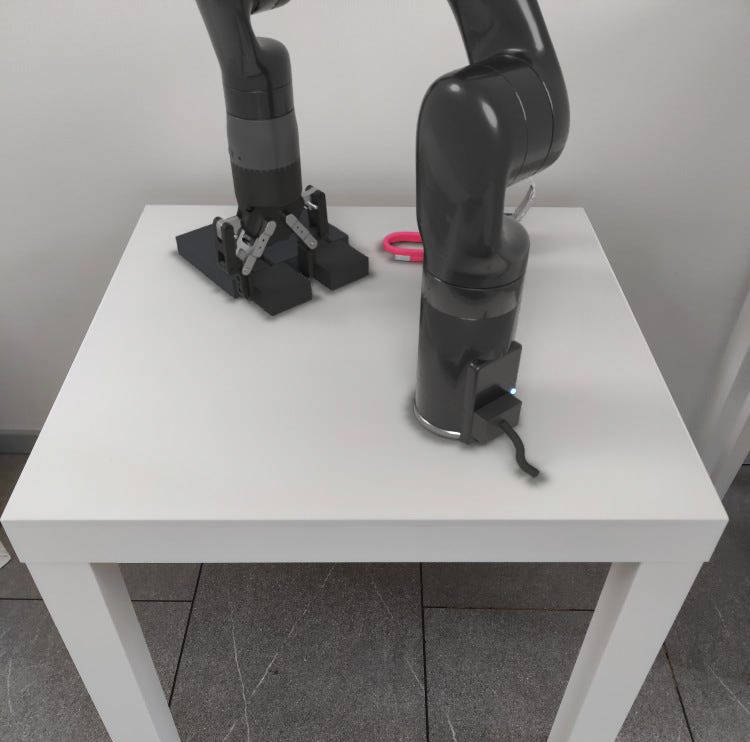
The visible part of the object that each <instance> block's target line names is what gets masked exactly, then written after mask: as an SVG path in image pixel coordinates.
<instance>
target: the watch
mask: <svg viewBox="0 0 750 742" xmlns="http://www.w3.org/2000/svg"><path fill="white" fill-rule="evenodd" d="M528 180H529V181H530V183H531V184H530V185H529V188H528V190H527V191H526V194H525V196H524V198H523V199H522V201H521V202H520V203H519V205H518V206H517V207H516V208H515V209H514V212H510V213H509V212H504V215H507V216H509V217H511V218H513V219H515V220H516V221H518V222H519V223H520V222H521V220H522V219H523V218H524V217H525V216H526V215H527V213H528V212H529V211H530V209H531V208H532V205H533V204H534V202H535V200H536V192H537V191H536V184H535V178H534V175H533V176H531V177H529V178H528Z"/></svg>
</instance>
